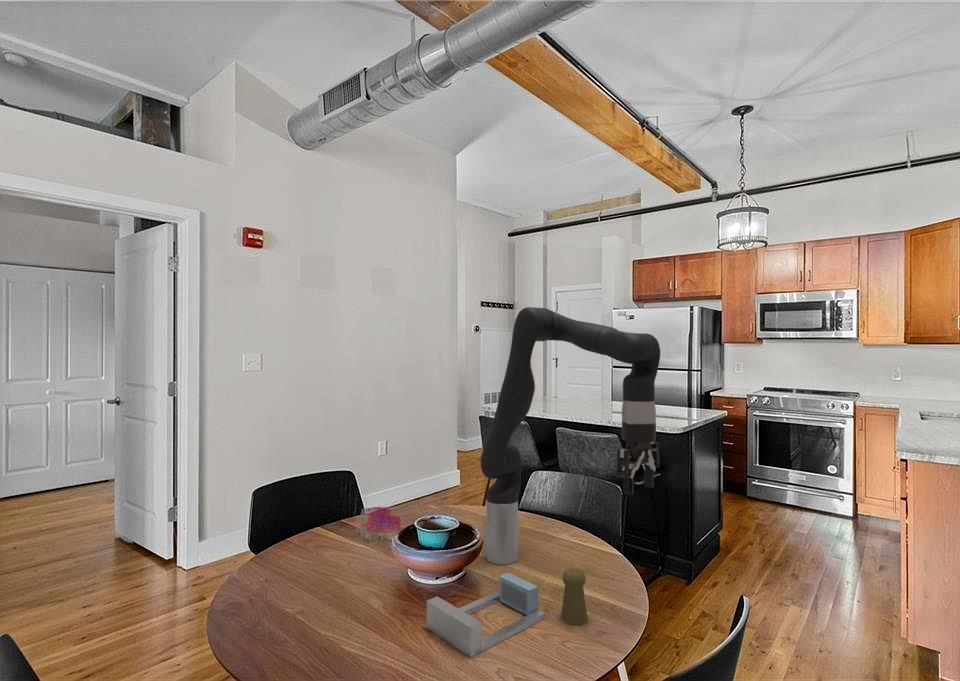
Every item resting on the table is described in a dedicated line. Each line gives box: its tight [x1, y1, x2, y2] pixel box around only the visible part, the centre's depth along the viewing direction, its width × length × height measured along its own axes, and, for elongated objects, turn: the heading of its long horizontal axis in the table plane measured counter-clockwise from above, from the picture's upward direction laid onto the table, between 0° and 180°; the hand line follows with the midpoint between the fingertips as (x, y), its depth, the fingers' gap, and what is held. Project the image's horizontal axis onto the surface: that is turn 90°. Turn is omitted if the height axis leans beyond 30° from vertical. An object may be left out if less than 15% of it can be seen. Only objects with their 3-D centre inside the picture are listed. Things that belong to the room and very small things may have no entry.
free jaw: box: [498, 572, 539, 616], centre depth 126 cm, size 10×3×6 cm, turn 42°
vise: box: [426, 590, 546, 659], centre depth 119 cm, size 15×22×6 cm, turn 132°
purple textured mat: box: [355, 506, 403, 542], centre depth 181 cm, size 30×15×5 cm, turn 10°
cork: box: [560, 567, 589, 627], centre depth 121 cm, size 6×6×11 cm
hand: (638, 490), depth 121 cm, fingers open, 8 cm apart
